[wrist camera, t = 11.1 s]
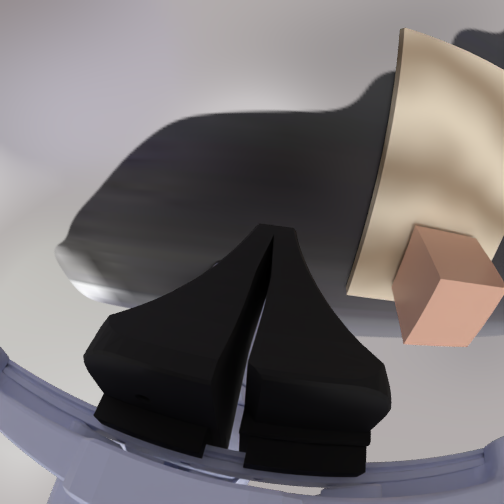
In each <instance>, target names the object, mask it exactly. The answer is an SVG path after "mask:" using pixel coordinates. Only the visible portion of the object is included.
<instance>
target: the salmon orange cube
mask: <svg viewBox="0 0 504 504" xmlns="http://www.w3.org/2000/svg"><path fill="white" fill-rule="evenodd" d="M391 288H392V292H393V296H394V300H395V305H396V309H397V314H398V318H399V323H400V328H401V333H402V338H403V344H411V345H428V346H452V347H467V346H468V345H469V344H470V343H471V341H472V340H473V339H474V337H475V336H476V335H477V333H478V332H479V331H480V329H481V328H482V327H483V325H484V324H485V322H486V321H487V319H488V318H489V317H490V315H491V314H492V312H493V311H494V309H495V308H496V306H497V304H498V303H499V301H500V300H501V298H502V297H503V295H504V282H503V280H502V278H501V276H500V275H499V273H498V271H497V270H496V268H495V267H494V265H493V263H492V262H491V260H490V259H489V257H488V256H487V254H486V252H485V251H484V249H483V248H482V246H481V245H480V243H479V242H478V241H477V239H476V238H472V237H468V236H463V235H459V234H454V233H450V232H445V231H440V230H436V229H431V228H426V227H421V226H416V225H415V228H414V231H413V234H412V236H411V239H410V242H409V245H408V247H407V250H406V252H405V255H404V258H403V260H402V263H401V265H400V268H399V270H398V272H397V275H396V277H395V280H394V282H393V284H392V287H391Z"/></svg>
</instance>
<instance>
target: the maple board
mask: <svg viewBox="0 0 504 504" xmlns="http://www.w3.org/2000/svg"><path fill="white" fill-rule="evenodd" d="M415 225H416V226H421V227H426V228H431V229H436V230H440V231H445V232H450V233H454V234H459V235H463V236H468V237H472V238H476V239H477V241H478V242H479V243H480V245H481V246H482V248H483V249H484V251H485V252H486V254H487V256H488V257H489V259H490V260H492V258H493V256H494V254H495V252H496V250H497V248H498V246H499V244H500V242H501V240H502V238H503V235H504V70H503V69H501V68H499V67H497V66H496V65H494V64H492V63H490V62H488V61H486V60H484V59H482V58H480V57H478V56H476V55H474V54H472V53H470V52H468V51H465V50H463V49H461V48H459V47H456V46H454V45H452V44H449V43H447V42H444V41H442V40H439V39H436V38H433V37H431V36H428V35H425V34H423V33H419V32H417V31H414V30H410V29H407V28H403V29H400V35H399V46H398V57H397V66H396V74H395V82H394V89H393V96H392V102H391V109H390V115H389V120H388V126H387V132H386V137H385V142H384V147H383V152H382V157H381V161H380V166H379V171H378V175H377V179H376V184H375V188H374V192H373V196H372V200H371V204H370V208H369V212H368V215H367V219H366V223H365V226H364V230H363V234H362V237H361V240H360V244H359V247H358V251H357V254H356V257H355V261H354V264H353V267H352V270H351V273H350V276H349V279H348V282H347V285H346V291H347V295H352V296H359V297H367V298H375V299H382V300H391V301H395V300H394V296H393V292H392V288H391V287H392V284H393V282H394V280H395V277H396V275H397V272H398V270H399V268H400V265H401V263H402V260H403V258H404V255H405V252H406V250H407V247H408V245H409V242H410V239H411V236H412V234H413V231H414V228H415Z"/></svg>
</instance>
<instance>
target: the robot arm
mask: <svg viewBox="0 0 504 504" xmlns="http://www.w3.org/2000/svg"><path fill="white" fill-rule="evenodd" d="M83 357H84V363H85V366H86V367H87V370H88V372H89V373H90V375H91V376H92V377H93V379H94V380H95V382H96V383H97V384H98V386H99V387H100V389H101V390H102V391H103V393H104V394H103V396H102V399H101V400H100V403H99V405H98V407H96V406H93V405H91V404H89V403H87V402H84V401H83V400H80V399H78V398H76V397H74V396H72V395H70V394H68V393H66V392H64V391H62V390H60V389H59V388H57V387H55V386H53V385H51V384H49V383H48V382H46V381H44V380H42V379H41V378H39V377H37V376H35V375H34V374H32V373H30V372H29V371H27V370H26V369H24V368H22V367H20V366H19V365H18V364H16V363H15V362H13V361H11V360H10V359H9V357H8V356H7V354H6V353H5V352H4V350H3V349H2V348H1V347H0V432H1V433H3V435H4V436H6V437H7V438H8V439H9V440H10V441H11V442H12V443H14V444H15V445H16V446H17V447H18V448H20V449H21V450H22V451H23V452H24V453H25V454H27V455H28V456H29V457H31V458H32V459H33V460H34V461H36V462H37V463H38V464H40V465H41V466H42V467H44V468H45V469H47V470H48V471H49V472H51V473H52V474H54V475H55V476H57V479H56V482H55V484H54V487H53V489H52V492H51V494H50V497H49V500H48V502H47V504H504V436H503V437H500V438H498V439H496V440H494V441H492V442H491V443H490V444H488V445H487V446H485V448H482V449H477V450H473V451H468V452H463V453H458V454H453V455H447V456H440V457H434V458H426V459H417V460H406V461H395V462H394V461H393V462H370V463H369V462H368V463H366V446H369V445H370V442H371V429H372V428H374V427H375V426H376V425H377V424H378V423H379V422H380V421H381V420H382V419H383V418H384V417H385V416H386V415H387V414H388V412H389V411H390V409H391V392H390V386H389V382H388V377H387V374H386V369H385V366H384V364H383V363H382V362H381V361H380V360H379V359H378V358H377V357H375V356H374V355H373V354H372V353H371V352H370V351H369V350H368V349H367V348H366V347H364V346H363V345H362V344H361V343H360V342H359V341H358V340H357V339H356V338H355V336H354V335H353V334H352V333H351V332H350V331H349V330H348V329H347V328H346V326H345V325H344V324H343V323H342V321H341V320H340V319H339V318H338V316H337V315H336V314H335V313H334V311H333V310H332V308H331V307H330V306H329V304H328V303H327V301H326V300H325V298H324V297H323V295H322V293H321V292H320V290H319V288H318V287H317V285H316V283H315V281H314V279H313V277H312V275H311V273H310V271H309V269H308V267H307V265H306V262H305V260H304V257H303V255H302V252H301V249H300V246H299V243H298V239H297V234H296V231H295V229H294V228H288V227H281V226H274V225H266V224H259V225H257V226H256V227H255V228H254V229H253V231H252V232H251V233H250V234H249V235H248V236H247V237H246V238H245V239H244V240H243V241H242V242H241V243H240V244H239V245H238V246H237V247H236V248H235V249H234V250H233V251H232V252H230V253H229V254H228V255H227V256H226V257H224V258H223V259H222V260H221V261H220V262H218V263H216V264H215V265H214V266H213V267H212V268H211V269H209V270H208V271H206V272H205V273H204V274H202V275H201V276H199V277H198V278H196V279H194V280H193V281H191V282H189V283H187V284H186V285H184V286H182V287H180V288H178V289H176V290H175V291H173V292H171V293H168V294H166V295H164V296H162V297H160V298H157V299H155V300H153V301H150V302H148V303H145V304H143V305H140V306H137V307H134V308H131V309H128V310H125V311H122V312H119V313H116V314H112V315H109V317H108V318H107V319H106V321H105V322H104V323H103V325H102V326H101V327H100V329H99V331H98V332H97V334H96V336H95V338H94V339H93V340H92V342H91V344H90V345H89V347H88V349H87V350H86V353H85V354H84V356H83ZM110 439H112V440H113V441H112V440H110ZM250 480H252V481H258V482H265V483H272V484H281V485H292V486H303V487H321V488H324V489H323V490H322V491H321V494H319V495H315V496H311V495H302V494H294V493H287V492H283V491H277V490H271V489H264V488H259V487H254V486H248V485H247V484H248V482H249V481H250Z"/></svg>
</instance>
